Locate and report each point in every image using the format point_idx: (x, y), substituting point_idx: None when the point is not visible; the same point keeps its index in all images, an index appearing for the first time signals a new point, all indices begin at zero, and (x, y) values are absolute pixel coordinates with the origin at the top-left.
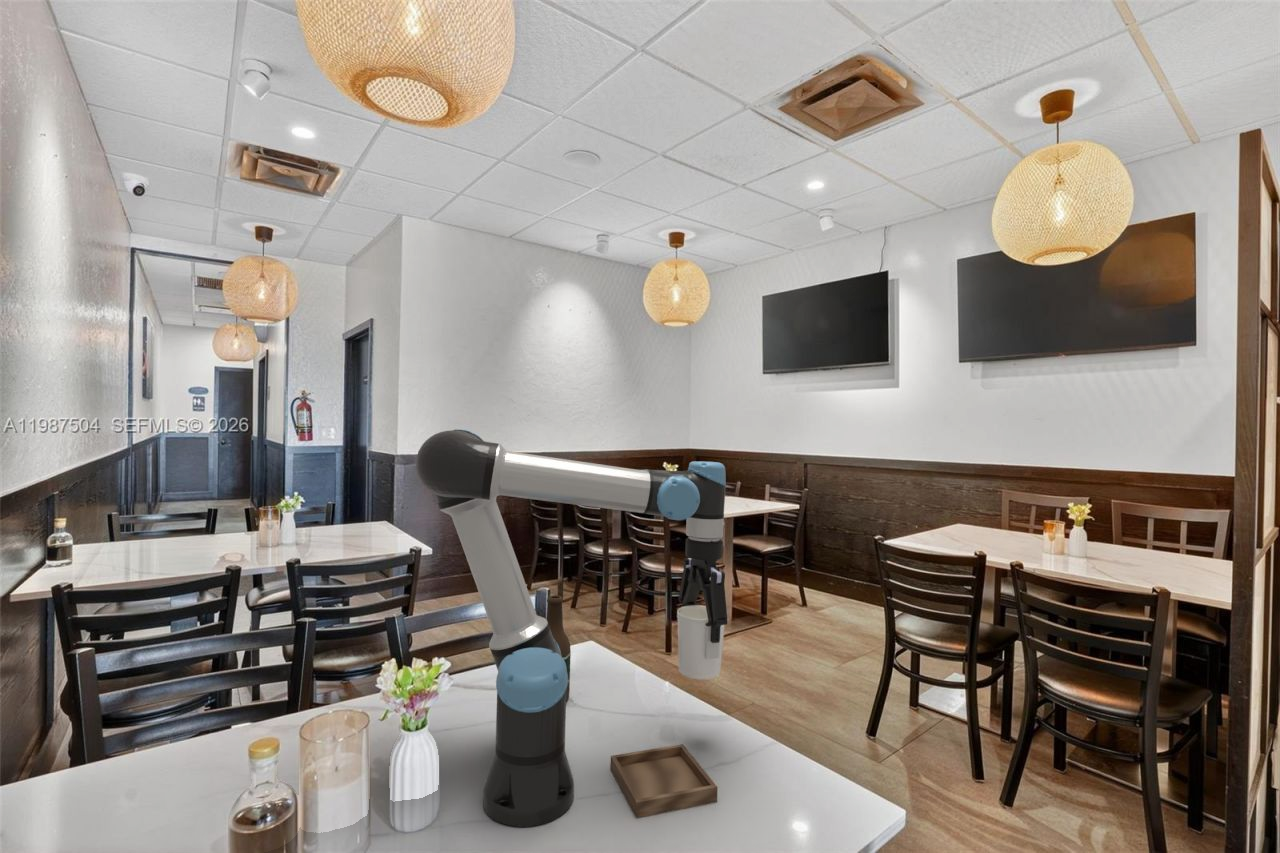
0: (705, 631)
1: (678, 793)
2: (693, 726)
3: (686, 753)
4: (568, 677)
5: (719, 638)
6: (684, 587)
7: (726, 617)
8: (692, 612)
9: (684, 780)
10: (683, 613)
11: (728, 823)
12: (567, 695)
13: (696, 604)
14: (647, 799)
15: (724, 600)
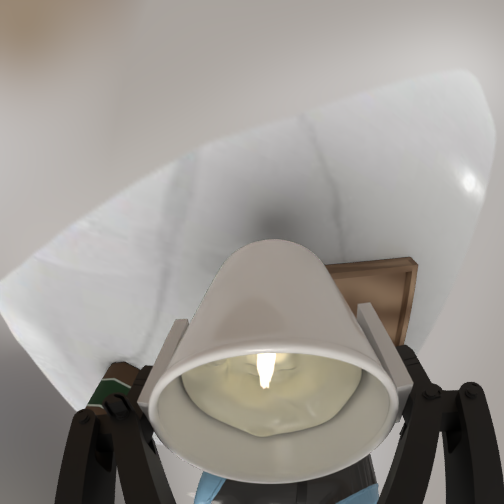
0: (371, 402)
1: (408, 312)
2: (211, 217)
3: (334, 278)
4: (117, 385)
5: (415, 355)
6: (111, 499)
7: (486, 405)
8: (166, 407)
9: (369, 287)
10: (190, 438)
11: (442, 258)
12: (127, 369)
13: (120, 403)
14: (402, 343)
15: (497, 471)
